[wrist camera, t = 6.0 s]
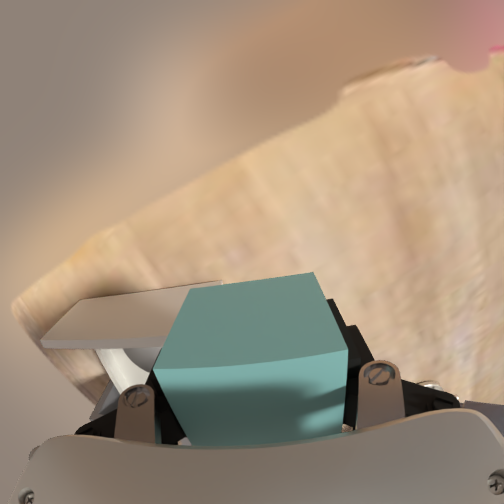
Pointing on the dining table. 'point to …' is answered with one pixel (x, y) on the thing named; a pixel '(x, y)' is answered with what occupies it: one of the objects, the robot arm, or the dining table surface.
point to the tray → (122, 330)
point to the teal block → (255, 363)
